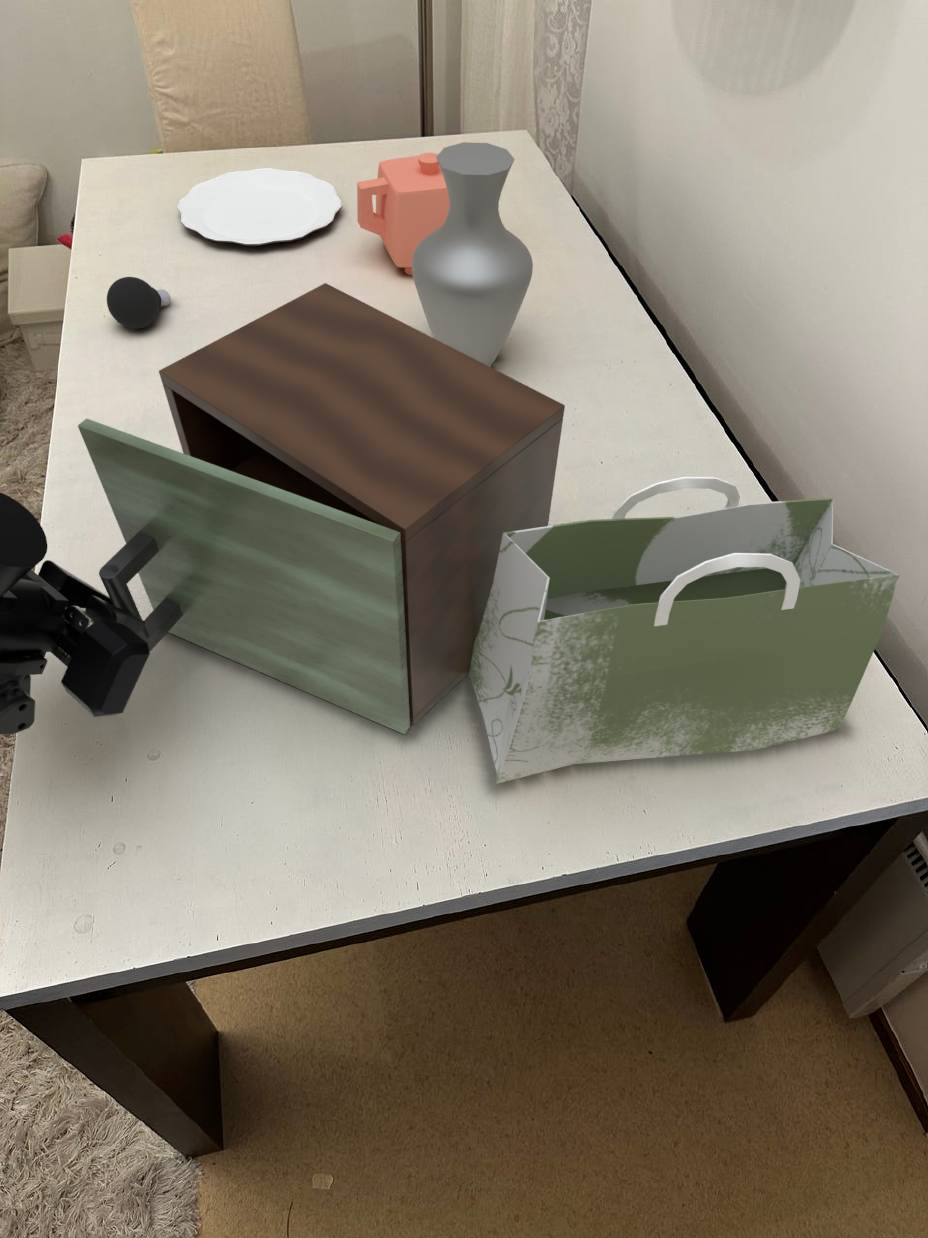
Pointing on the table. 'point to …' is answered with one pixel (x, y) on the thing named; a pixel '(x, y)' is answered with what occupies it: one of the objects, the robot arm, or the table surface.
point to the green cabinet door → (257, 574)
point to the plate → (259, 206)
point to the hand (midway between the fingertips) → (134, 620)
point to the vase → (472, 257)
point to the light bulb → (135, 302)
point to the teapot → (404, 204)
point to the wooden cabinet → (381, 451)
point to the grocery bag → (673, 633)
